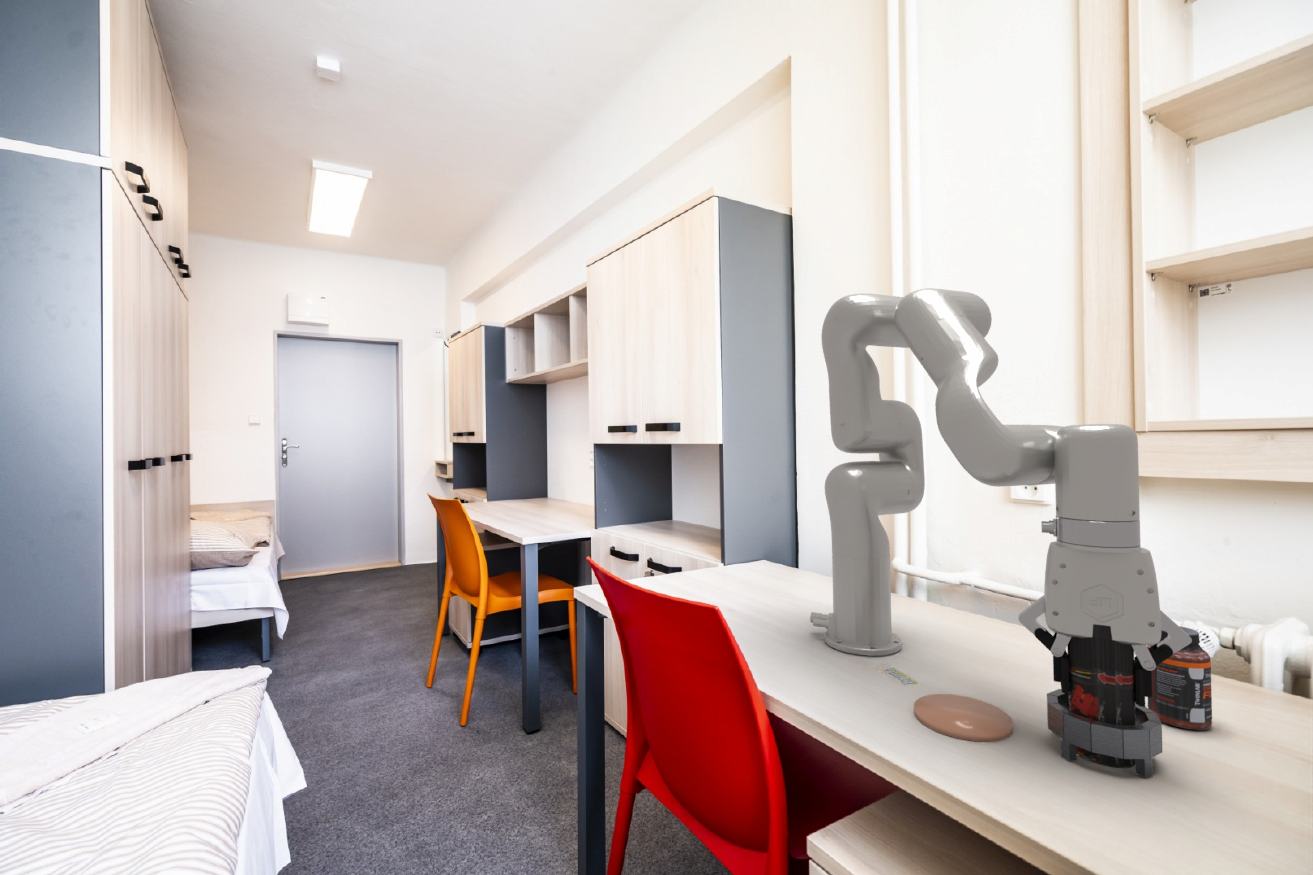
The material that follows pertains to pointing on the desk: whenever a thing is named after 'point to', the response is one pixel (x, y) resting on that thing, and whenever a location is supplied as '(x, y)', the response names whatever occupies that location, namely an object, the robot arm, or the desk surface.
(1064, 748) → the ring stand
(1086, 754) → the deodorant
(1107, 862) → the desk surface
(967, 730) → the coaster
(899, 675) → the keychain
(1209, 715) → the supplement bottle
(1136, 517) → the robot arm
